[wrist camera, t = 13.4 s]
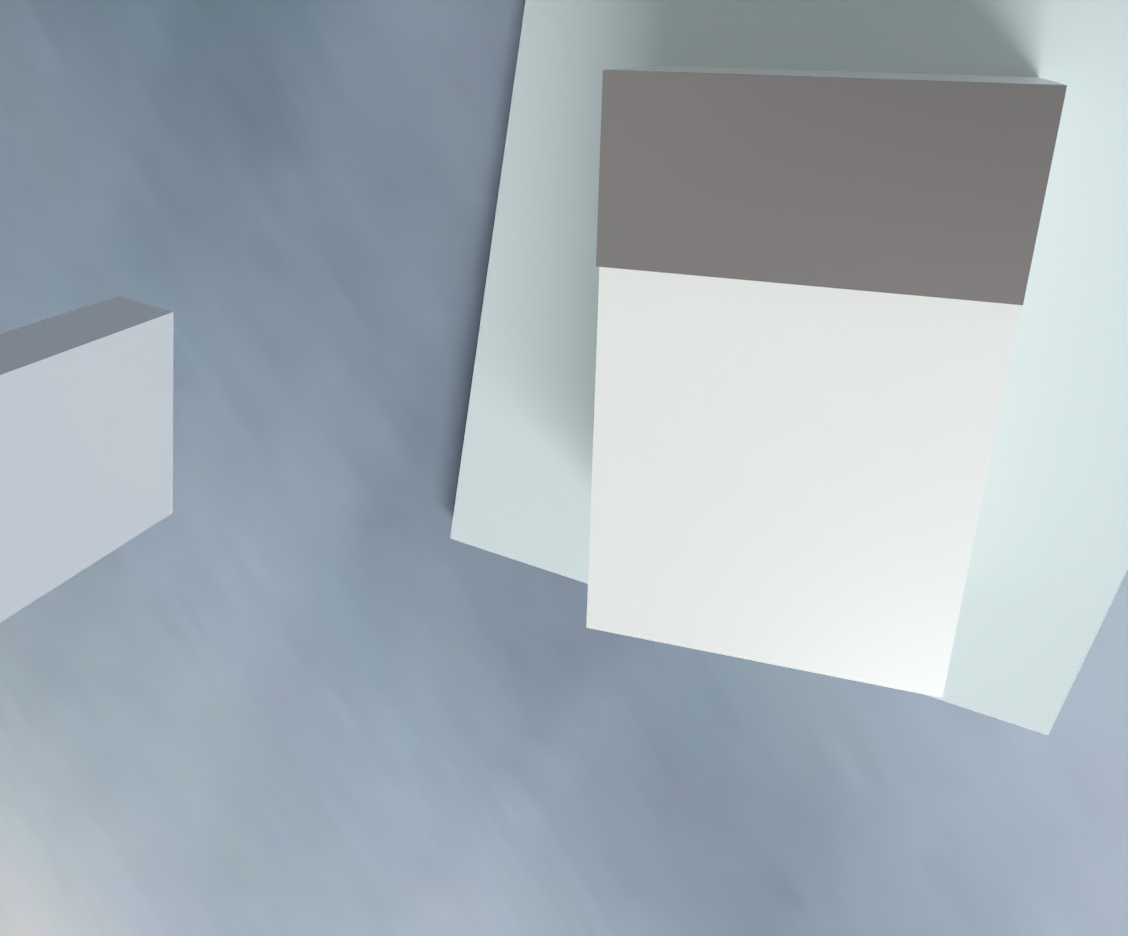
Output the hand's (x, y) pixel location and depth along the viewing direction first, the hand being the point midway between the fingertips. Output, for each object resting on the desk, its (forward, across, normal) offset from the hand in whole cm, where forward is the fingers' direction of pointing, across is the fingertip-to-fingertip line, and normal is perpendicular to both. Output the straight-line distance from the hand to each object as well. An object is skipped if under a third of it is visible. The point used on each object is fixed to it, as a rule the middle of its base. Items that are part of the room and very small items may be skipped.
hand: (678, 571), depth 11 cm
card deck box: (+10, -1, 0) cm, 10 cm away
